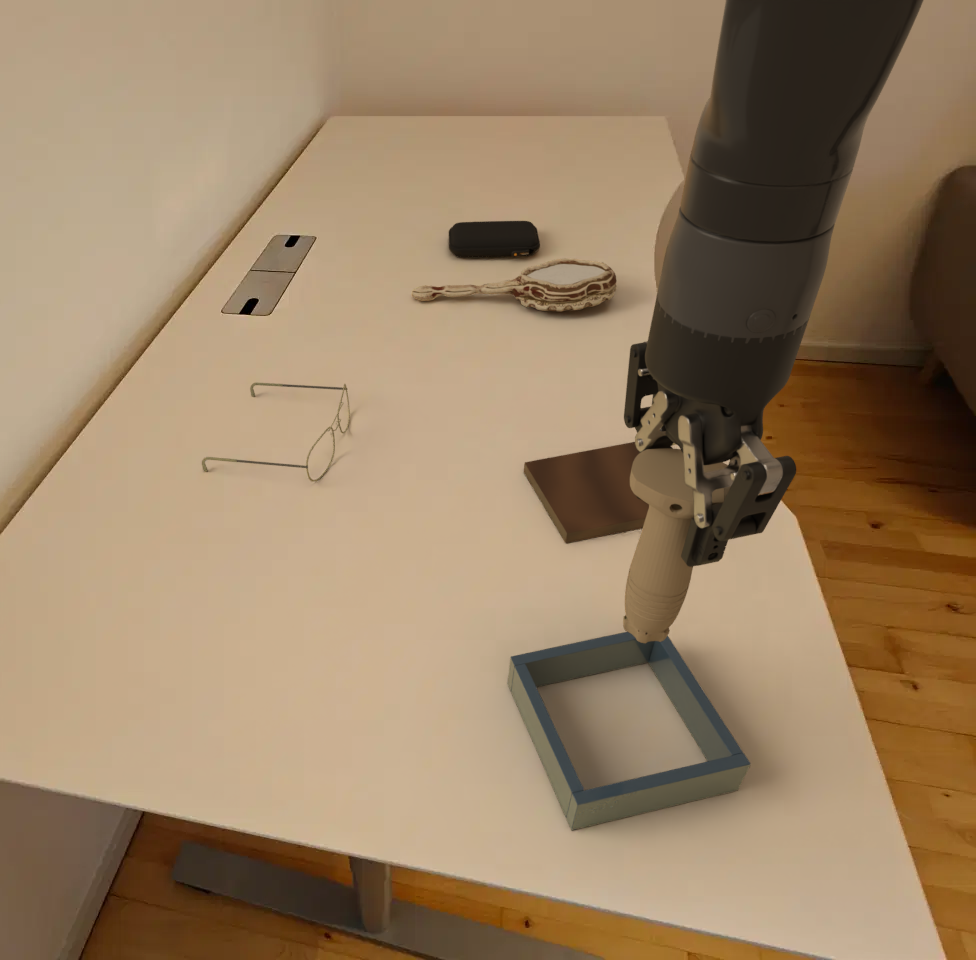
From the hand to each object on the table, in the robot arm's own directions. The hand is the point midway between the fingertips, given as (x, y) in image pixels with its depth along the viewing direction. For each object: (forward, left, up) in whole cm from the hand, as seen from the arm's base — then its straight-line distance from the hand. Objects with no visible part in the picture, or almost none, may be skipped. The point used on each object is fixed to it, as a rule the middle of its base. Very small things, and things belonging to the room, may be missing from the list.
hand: (672, 525), depth 55 cm
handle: (0, 0, -11) cm, 11 cm away
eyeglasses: (+21, -48, -25) cm, 58 cm away
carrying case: (-21, -89, -25) cm, 95 cm away
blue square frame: (0, 0, -24) cm, 24 cm away
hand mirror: (-18, -72, -25) cm, 78 cm away
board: (-12, -28, -24) cm, 39 cm away
